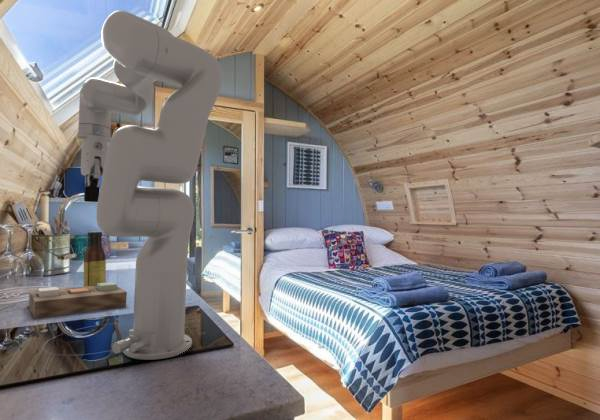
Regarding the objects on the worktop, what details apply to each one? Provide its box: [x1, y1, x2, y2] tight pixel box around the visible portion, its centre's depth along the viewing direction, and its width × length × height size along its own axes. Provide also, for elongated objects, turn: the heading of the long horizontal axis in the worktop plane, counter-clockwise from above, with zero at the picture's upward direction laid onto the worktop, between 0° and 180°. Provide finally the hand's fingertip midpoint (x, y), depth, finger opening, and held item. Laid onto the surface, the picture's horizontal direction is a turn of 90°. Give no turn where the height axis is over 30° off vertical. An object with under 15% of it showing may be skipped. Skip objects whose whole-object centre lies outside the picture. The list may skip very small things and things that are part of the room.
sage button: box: [97, 281, 118, 291], centre depth 105 cm, size 4×4×3 cm
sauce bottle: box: [83, 231, 107, 287], centre depth 117 cm, size 6×6×20 cm
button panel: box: [28, 285, 128, 319], centre depth 100 cm, size 21×14×4 cm, turn 131°
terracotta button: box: [69, 288, 89, 294], centre depth 100 cm, size 4×4×3 cm
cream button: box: [37, 286, 60, 298], centre depth 96 cm, size 4×4×3 cm
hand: (91, 201), depth 97 cm, fingers closed
